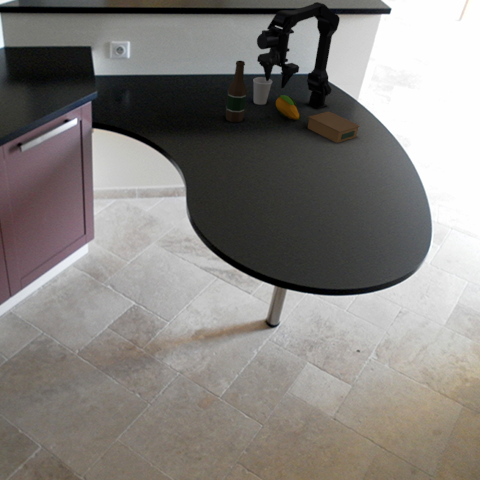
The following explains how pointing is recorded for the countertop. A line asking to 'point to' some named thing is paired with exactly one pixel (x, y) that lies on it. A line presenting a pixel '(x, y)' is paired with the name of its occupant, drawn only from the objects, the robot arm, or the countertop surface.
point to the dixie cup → (261, 90)
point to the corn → (287, 107)
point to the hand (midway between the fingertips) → (274, 84)
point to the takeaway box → (333, 126)
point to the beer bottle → (236, 95)
